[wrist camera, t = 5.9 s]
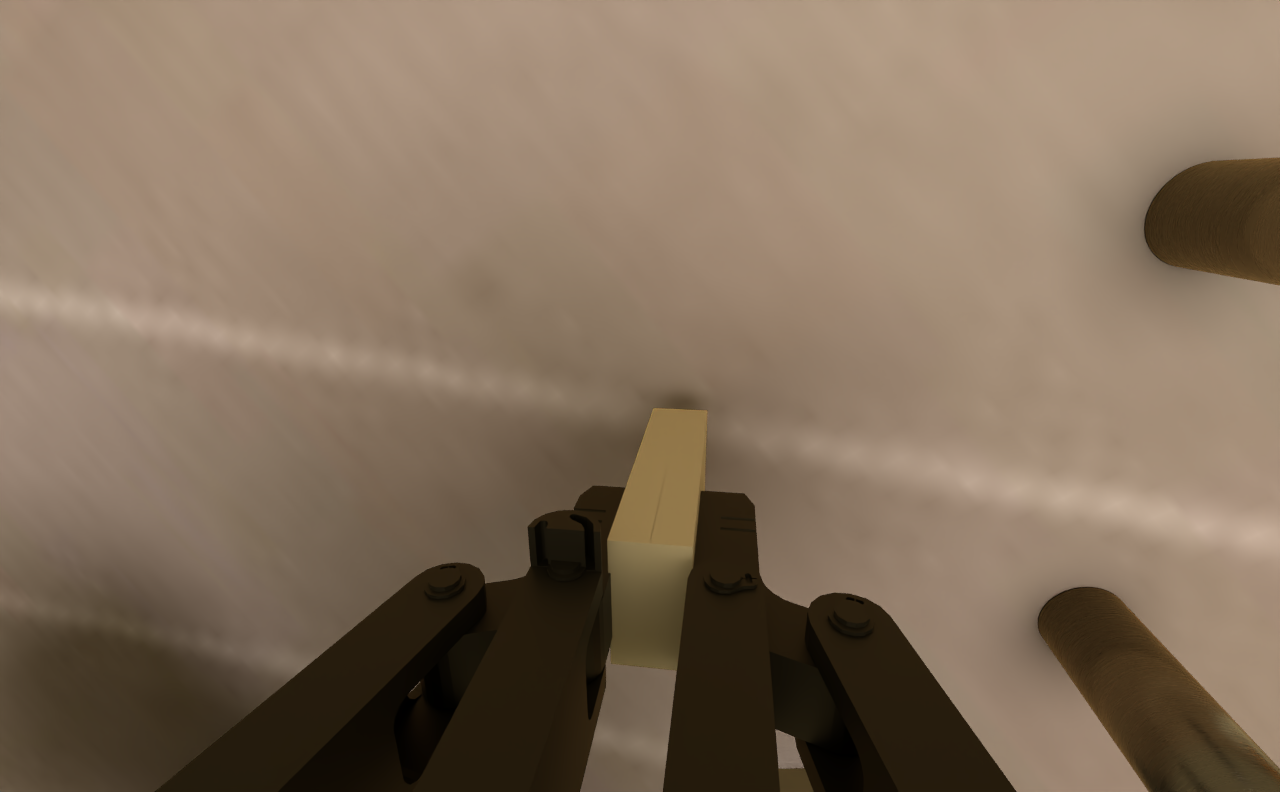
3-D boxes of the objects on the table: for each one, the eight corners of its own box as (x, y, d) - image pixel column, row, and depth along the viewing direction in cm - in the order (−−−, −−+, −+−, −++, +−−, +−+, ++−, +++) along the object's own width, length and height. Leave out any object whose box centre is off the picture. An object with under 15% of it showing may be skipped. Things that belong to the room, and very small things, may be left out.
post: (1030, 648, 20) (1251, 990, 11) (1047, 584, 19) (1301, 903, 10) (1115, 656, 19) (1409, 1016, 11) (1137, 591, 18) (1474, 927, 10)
